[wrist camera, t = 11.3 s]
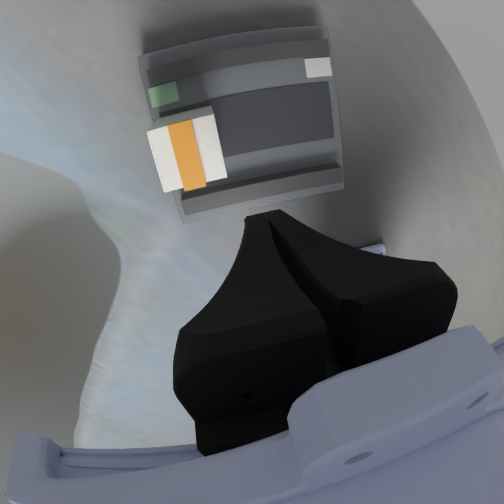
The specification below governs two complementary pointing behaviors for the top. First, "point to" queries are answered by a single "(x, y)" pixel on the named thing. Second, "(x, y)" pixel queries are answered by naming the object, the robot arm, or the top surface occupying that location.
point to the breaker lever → (187, 149)
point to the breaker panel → (255, 114)
